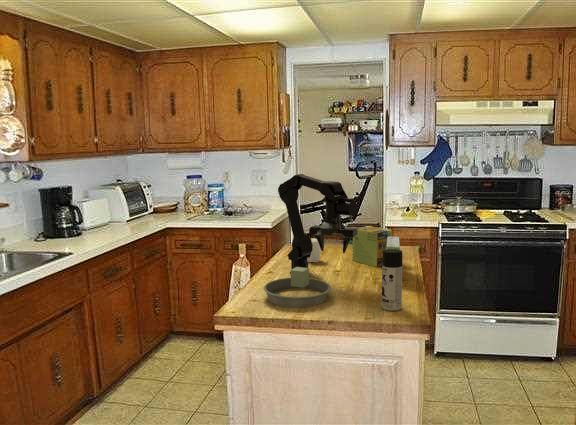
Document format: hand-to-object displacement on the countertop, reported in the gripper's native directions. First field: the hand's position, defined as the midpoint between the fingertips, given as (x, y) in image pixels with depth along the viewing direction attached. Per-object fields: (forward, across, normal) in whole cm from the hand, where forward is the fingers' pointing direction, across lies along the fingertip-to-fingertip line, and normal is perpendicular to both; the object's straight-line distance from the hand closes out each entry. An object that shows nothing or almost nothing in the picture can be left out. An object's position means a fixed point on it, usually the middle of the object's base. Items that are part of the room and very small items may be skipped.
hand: (333, 252), depth 204 cm
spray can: (+12, +30, -22) cm, 39 cm away
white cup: (+12, -21, +27) cm, 36 cm away
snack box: (+12, +20, +16) cm, 28 cm away
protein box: (+12, +5, +36) cm, 38 cm away
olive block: (+8, -4, -22) cm, 24 cm away
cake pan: (+13, -4, -24) cm, 28 cm away
